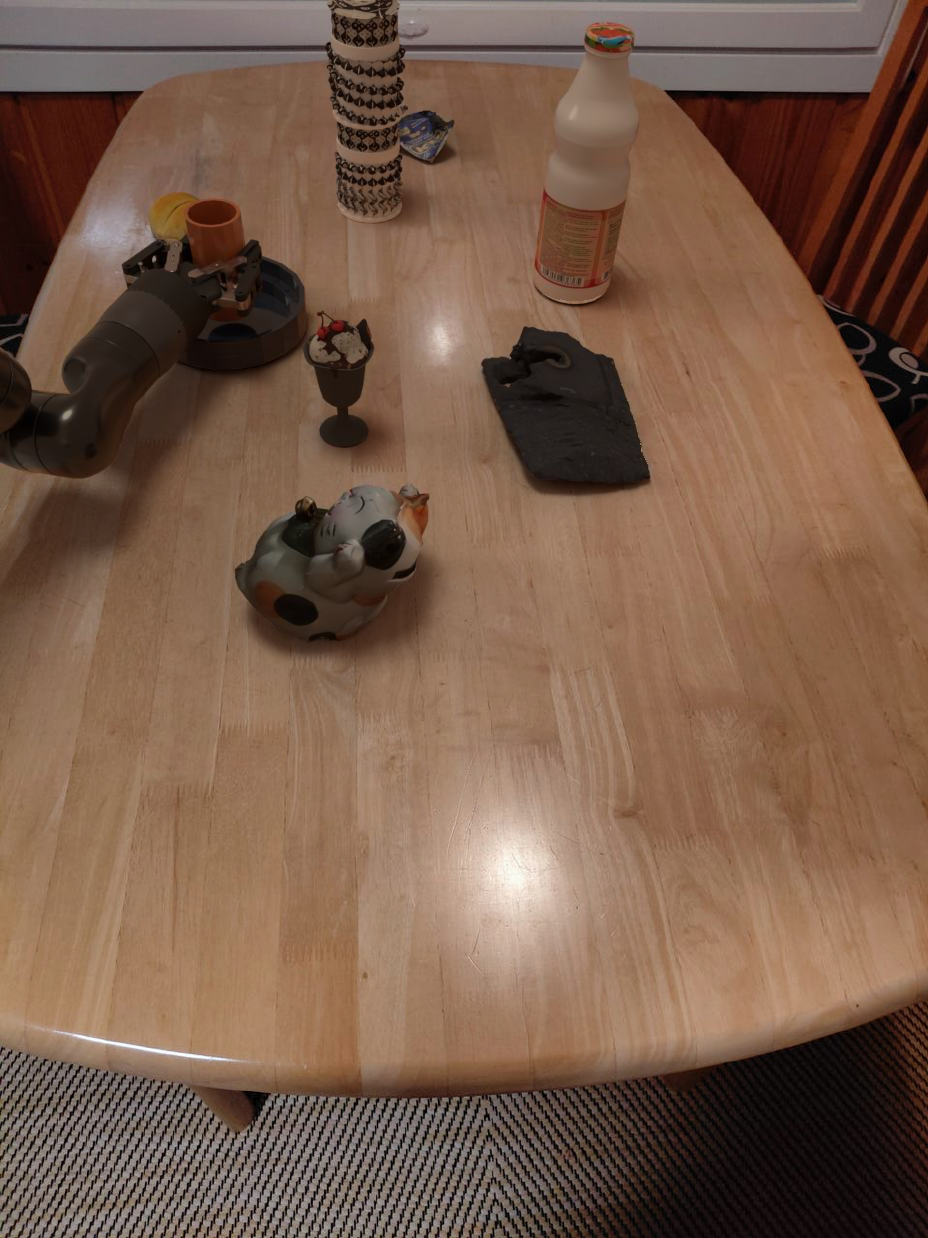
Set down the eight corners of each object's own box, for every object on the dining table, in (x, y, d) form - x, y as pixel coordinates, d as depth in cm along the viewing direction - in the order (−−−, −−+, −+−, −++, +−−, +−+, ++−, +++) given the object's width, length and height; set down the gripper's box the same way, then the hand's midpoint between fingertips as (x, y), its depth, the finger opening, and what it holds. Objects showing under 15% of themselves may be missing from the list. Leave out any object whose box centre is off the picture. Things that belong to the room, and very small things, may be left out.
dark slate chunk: (507, 497, 91) (511, 461, 87) (477, 358, 104) (480, 321, 100) (658, 489, 93) (669, 453, 89) (610, 353, 106) (618, 317, 102)
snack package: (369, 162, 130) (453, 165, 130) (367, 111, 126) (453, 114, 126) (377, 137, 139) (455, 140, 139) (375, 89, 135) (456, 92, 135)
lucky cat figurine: (307, 511, 88) (376, 408, 79) (400, 598, 88) (479, 505, 79) (205, 582, 76) (272, 472, 68) (312, 682, 77) (393, 585, 68)
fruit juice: (548, 311, 110) (584, 53, 88) (521, 268, 116) (549, 14, 94) (620, 301, 112) (674, 46, 90) (591, 259, 118) (634, 9, 96)
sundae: (304, 448, 93) (290, 319, 82) (319, 406, 98) (308, 276, 86) (368, 457, 93) (364, 328, 81) (381, 414, 97) (379, 285, 85)
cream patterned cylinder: (393, 230, 119) (391, 10, 100) (324, 216, 121) (309, -4, 101) (413, 195, 125) (416, -19, 105) (348, 183, 126) (338, -32, 106)
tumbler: (220, 328, 101) (203, 232, 92) (191, 304, 103) (173, 209, 94) (263, 310, 103) (251, 215, 95) (234, 287, 106) (220, 192, 97)
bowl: (207, 395, 98) (201, 363, 95) (122, 318, 105) (114, 286, 102) (338, 334, 105) (336, 303, 102) (250, 266, 113) (246, 235, 110)
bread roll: (187, 205, 121) (182, 174, 117) (234, 231, 117) (230, 201, 114) (135, 229, 116) (128, 198, 113) (182, 257, 113) (176, 226, 110)
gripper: (211, 310, 85) (288, 221, 96) (72, 276, 88) (161, 193, 98) (223, 377, 91) (294, 287, 101) (93, 344, 93) (175, 259, 104)
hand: (229, 241), depth 100 cm, fingers closed on tumbler, 5 cm apart
